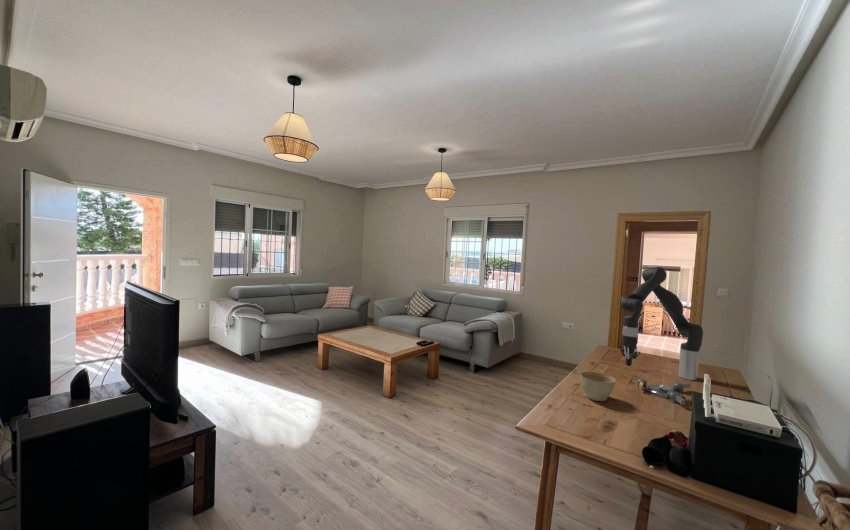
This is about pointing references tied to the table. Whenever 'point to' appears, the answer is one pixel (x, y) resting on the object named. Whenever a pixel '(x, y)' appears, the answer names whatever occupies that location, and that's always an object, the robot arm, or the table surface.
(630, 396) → the table surface
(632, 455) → the table surface
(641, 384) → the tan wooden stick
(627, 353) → the robot arm
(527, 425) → the table surface
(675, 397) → the knob
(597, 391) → the planter bowl
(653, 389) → the base
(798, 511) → the table surface
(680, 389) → the grey bar with ball
